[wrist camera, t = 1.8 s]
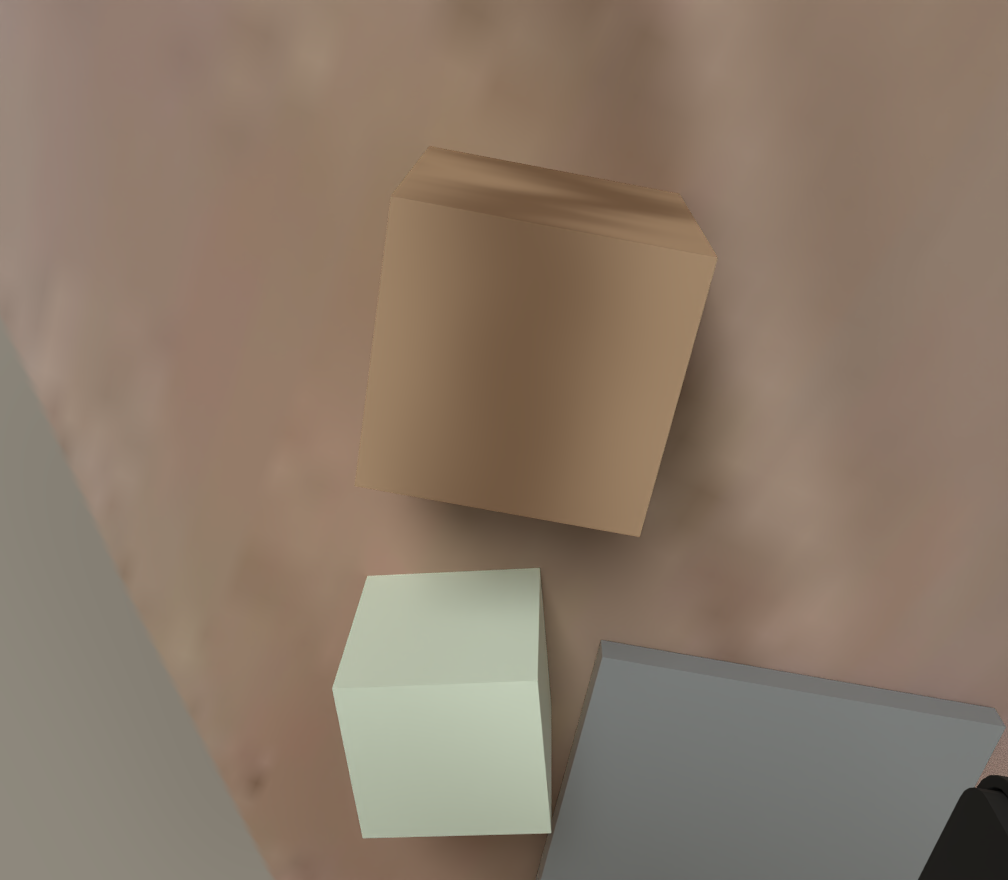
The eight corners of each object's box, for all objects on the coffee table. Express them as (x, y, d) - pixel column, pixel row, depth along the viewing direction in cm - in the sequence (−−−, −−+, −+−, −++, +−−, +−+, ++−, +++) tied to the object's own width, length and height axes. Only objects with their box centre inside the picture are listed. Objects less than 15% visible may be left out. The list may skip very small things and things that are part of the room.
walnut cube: (678, 193, 23) (717, 258, 17) (621, 419, 25) (640, 537, 20) (430, 145, 23) (390, 195, 17) (397, 378, 25) (354, 485, 20)
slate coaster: (994, 708, 29) (1006, 726, 28) (860, 969, 34) (867, 991, 33) (601, 640, 28) (602, 656, 28) (525, 914, 33) (525, 935, 33)
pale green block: (540, 566, 27) (537, 680, 23) (551, 703, 30) (551, 833, 25) (367, 574, 28) (332, 688, 23) (391, 709, 30) (362, 838, 25)
